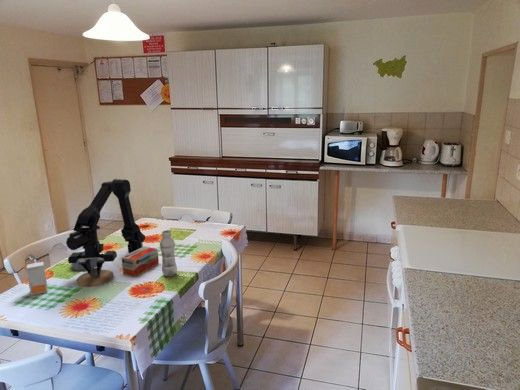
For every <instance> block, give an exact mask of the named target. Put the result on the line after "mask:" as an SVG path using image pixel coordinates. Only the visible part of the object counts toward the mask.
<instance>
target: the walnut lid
mask: <svg viewBox="0 0 520 390" xmlns="http://www.w3.org/2000/svg"><path fill="white" fill-rule="evenodd" d="M114 276H115V274H114V272H113V271H112V270H108V269H101V273H100V275H98V272H97V267H95V268H92V269H91V271H90V275H89V273H88V272H87V271H86V272H85V273H83V274H81V275H80V276H78V277H77V278H76V284H77V285H78V286H80V287H87V288H88V287H97V286H101V285H104V284H106V283H109V282H110V281H111V280H112V279H114Z"/></svg>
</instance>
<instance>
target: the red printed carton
mask: <svg viewBox="0 0 520 390" xmlns="http://www.w3.org/2000/svg"><path fill="white" fill-rule="evenodd" d="M159 261H160V260H159V252H158V248H156V247H150V246H146V245H143V247H142V248H140V249H138V250H136V251H134V252H131V253H129V252H128V254H125V255H123V256H121V265H122V272H123V274H127V275H131V276H135V277H138V276H139V275H141V274H143V273H145V272H146V271H148V270H150V269H152V268H154V267H156V266H157V265H159V263H160V262H159Z"/></svg>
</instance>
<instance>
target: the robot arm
mask: <svg viewBox="0 0 520 390" xmlns="http://www.w3.org/2000/svg"><path fill="white" fill-rule="evenodd" d="M100 185H101V186H100V188H99V189H98V191H97V193H96V194H95V196H94V198H93V200H92V201H91V202H90V204H89V205H88V206H87V207H85V208H84V209H83V210H82V211H81V212H80V213H79V214H78V215H77V220H76V222H75V224H74V227H73V232H71V233H69V234H68V236H69V237H67V238H66V241H65V243H66V246H67V247H68V249H69V250H71V251H76V250H78V249H80V248H82V249H83V251H85V255H82V253H81V251H78V252H72V253H71V254H70V255H69V256H68V258H67V261H68V264H72V263H76V262H77V261H78V260H79V262H80V263H79V265H82V266H83V267H84V268H85V269H86V270H85V271H86V273H87V272H88V273H89V275H90V271H91V265H90V259H98V262H97V263H96V264H97V267H96V268H97V272H98V275H100V273H101V270H102V269H103V264H105V262H109V263H110V262H113V261H115V260H116V258H117V257H118V253H117V251H116V250H106V252H104V243H100V241H99V238H98V230H99V229H101V226H99V225H98V224H99V221H100V219H101V211H102V209H103V208H104V206H105V205H106V203H107V201H108V199H109V198H110V196H111V194H113V195H115V197H116V198H117V200H118V205H119V208H120V213H121V217H122V220H123V227H122V229H121V230H120V232H121V235H122V237H123V239H124V241H125V242H127V243H128V244H127V252H128V254H129V253H131V252H134V251H136V250H138V249H140V248H142V247H144V244H143V243H144V242H145V241H146V235H145V234H144V233H143V232H142V231H141V229H140V226H139V225H138V224H137V223H136V221H135V218H134V213H133V208H132V205H131V200H130V193H131V191H132V190H131V189H132V188H131V183H130V181H129V179H122V178H121V179H120V178H119V179H118V178H115V179H112V181H111V180H110V181H104V182H102V183H101V184H100ZM102 252H104V253H102Z"/></svg>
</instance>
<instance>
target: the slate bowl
mask: <svg viewBox="0 0 520 390" xmlns="http://www.w3.org/2000/svg"><path fill="white" fill-rule="evenodd" d="M80 252H81V253H82V255H85V250H82V251H81V250H80ZM97 262H98V259H90V265H91V269H92V268H97V264H96V263H97ZM79 263H80V262H79V260H78V261H77V262H76V263H71V266H72V269H73V270H74V271H75V270H76V271H79V272H80V270H81V271H86V269H85V268H84V267H83V266H82V265H79Z"/></svg>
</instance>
